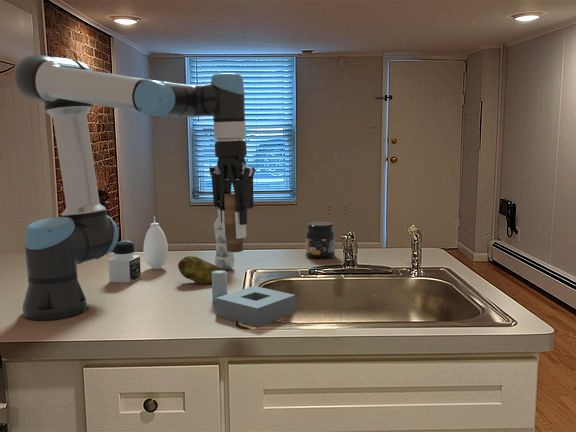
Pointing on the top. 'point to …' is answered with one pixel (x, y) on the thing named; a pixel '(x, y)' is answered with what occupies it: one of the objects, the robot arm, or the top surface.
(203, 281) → the potato
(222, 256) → the plastic bottle
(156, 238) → the sauce bottle
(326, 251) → the supplement container
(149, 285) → the top surface
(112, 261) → the medicine bottle
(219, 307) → the hole block
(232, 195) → the long pin
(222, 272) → the short pin
